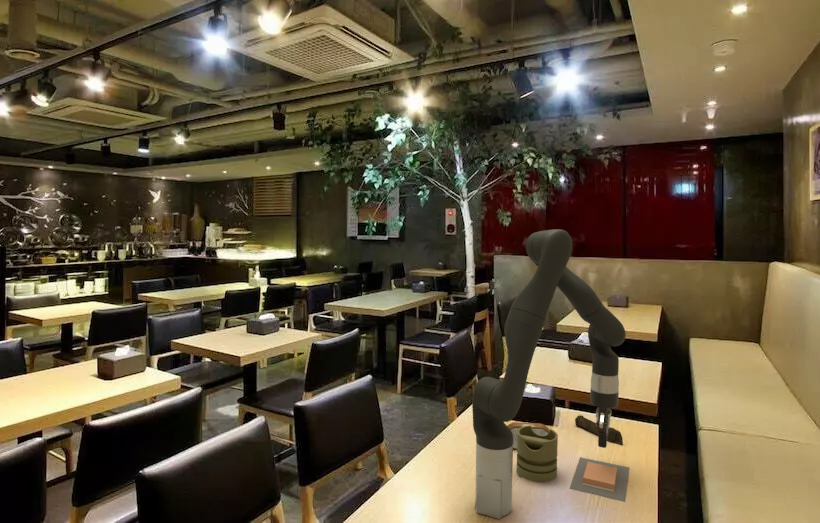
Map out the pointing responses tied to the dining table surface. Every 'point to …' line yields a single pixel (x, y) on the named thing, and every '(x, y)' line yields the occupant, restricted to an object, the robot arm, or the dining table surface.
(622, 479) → the mat
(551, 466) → the piston
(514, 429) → the tin
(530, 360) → the robot arm
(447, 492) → the dining table surface
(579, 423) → the hand tool
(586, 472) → the tile
